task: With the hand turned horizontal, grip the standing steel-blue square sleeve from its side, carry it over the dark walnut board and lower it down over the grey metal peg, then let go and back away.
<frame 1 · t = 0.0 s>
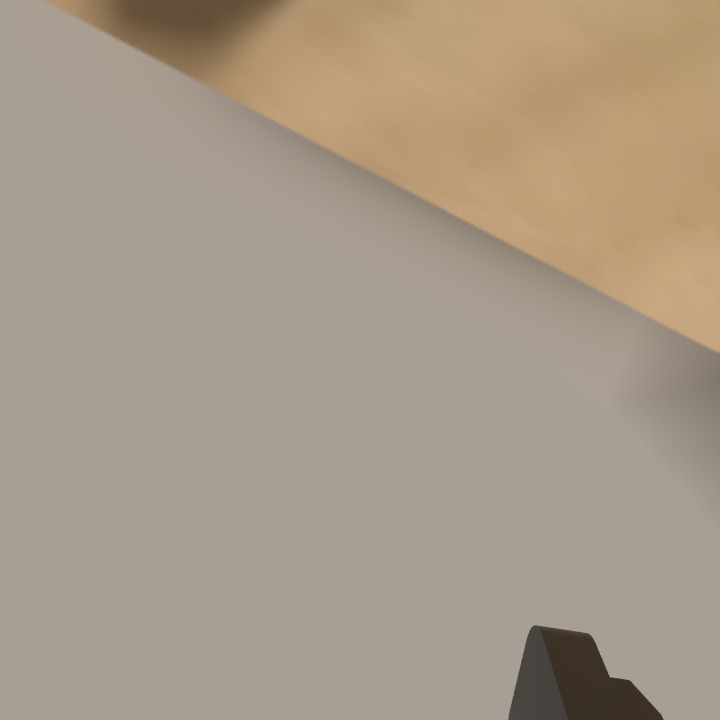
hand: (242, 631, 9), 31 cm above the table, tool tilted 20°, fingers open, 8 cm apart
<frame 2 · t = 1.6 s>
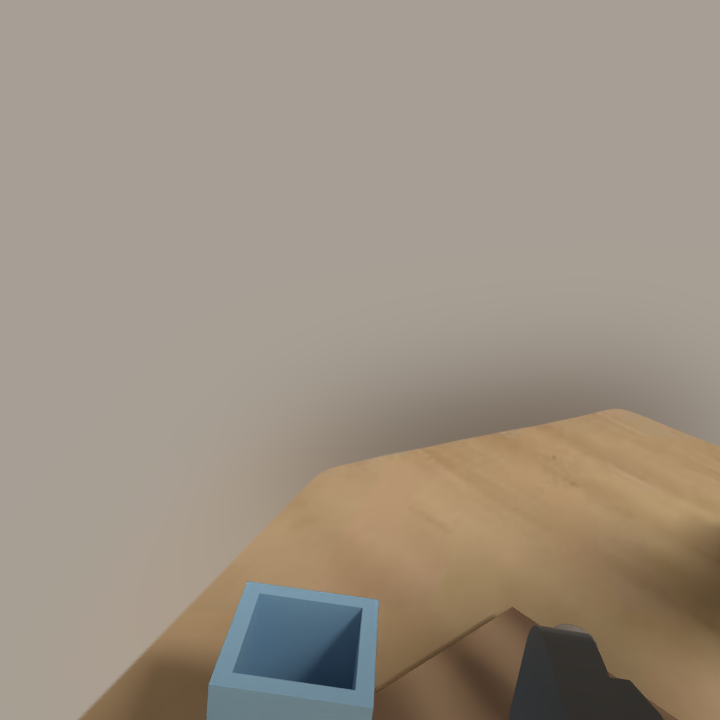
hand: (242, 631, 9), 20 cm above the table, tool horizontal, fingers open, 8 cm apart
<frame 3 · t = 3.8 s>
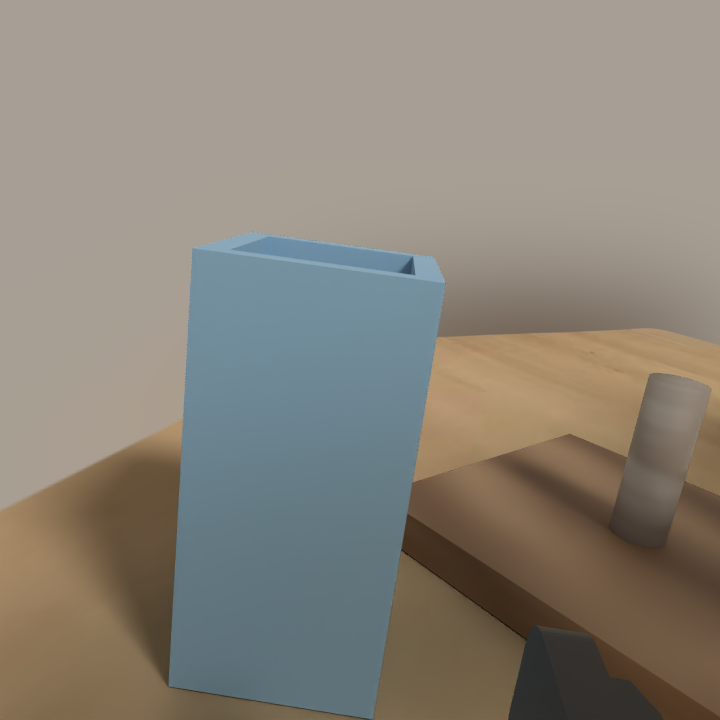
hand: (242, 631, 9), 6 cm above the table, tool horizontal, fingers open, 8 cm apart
sleeve: (288, 631, 18), on the table
peg board: (627, 567, 24), on the table
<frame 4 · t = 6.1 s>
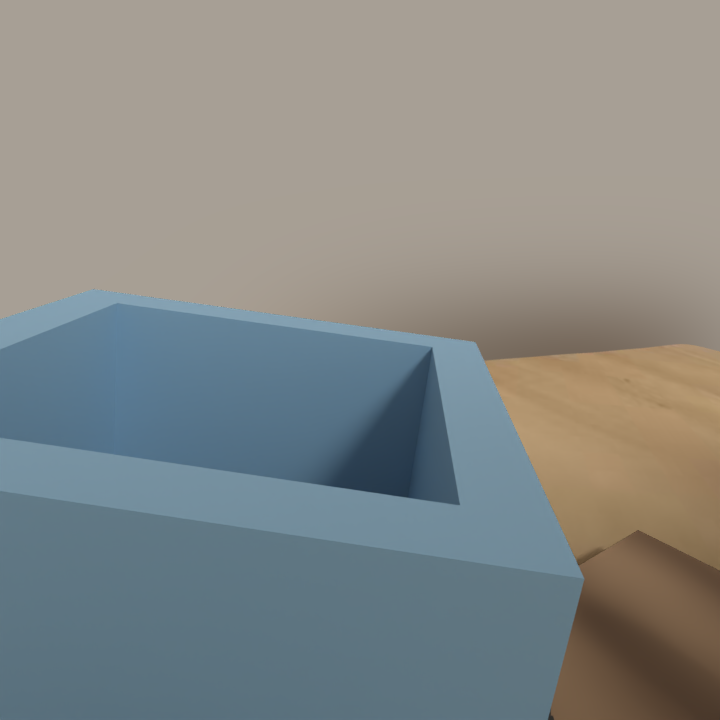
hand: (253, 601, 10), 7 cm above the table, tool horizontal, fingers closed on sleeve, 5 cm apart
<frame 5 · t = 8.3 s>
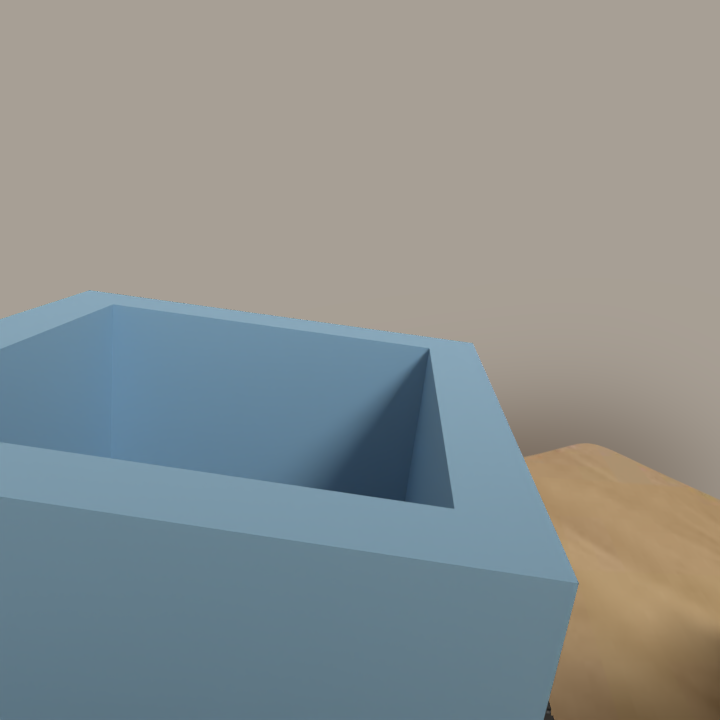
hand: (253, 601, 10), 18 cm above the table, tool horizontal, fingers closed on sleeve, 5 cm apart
when the fingers open (9 cm above the table, at t = 11.2 s): sleeve stays where it is, resting on peg board.
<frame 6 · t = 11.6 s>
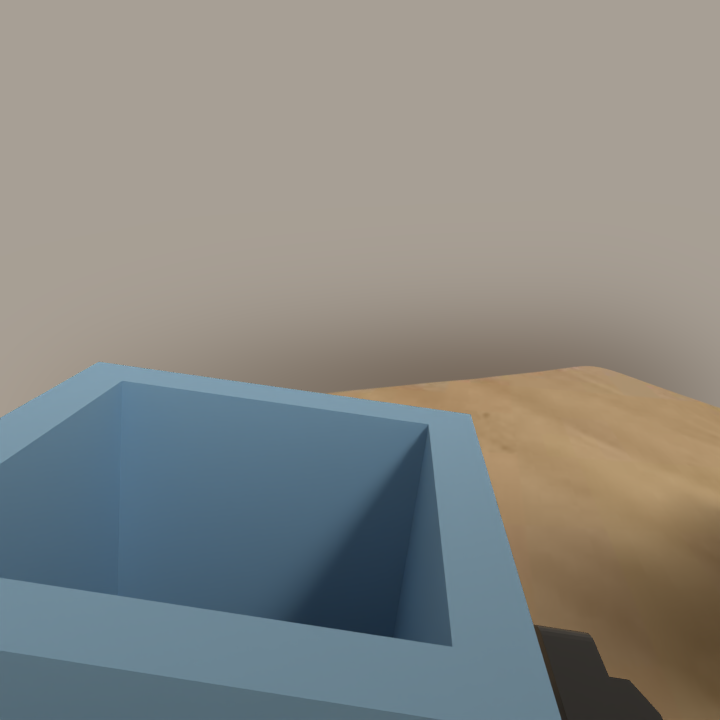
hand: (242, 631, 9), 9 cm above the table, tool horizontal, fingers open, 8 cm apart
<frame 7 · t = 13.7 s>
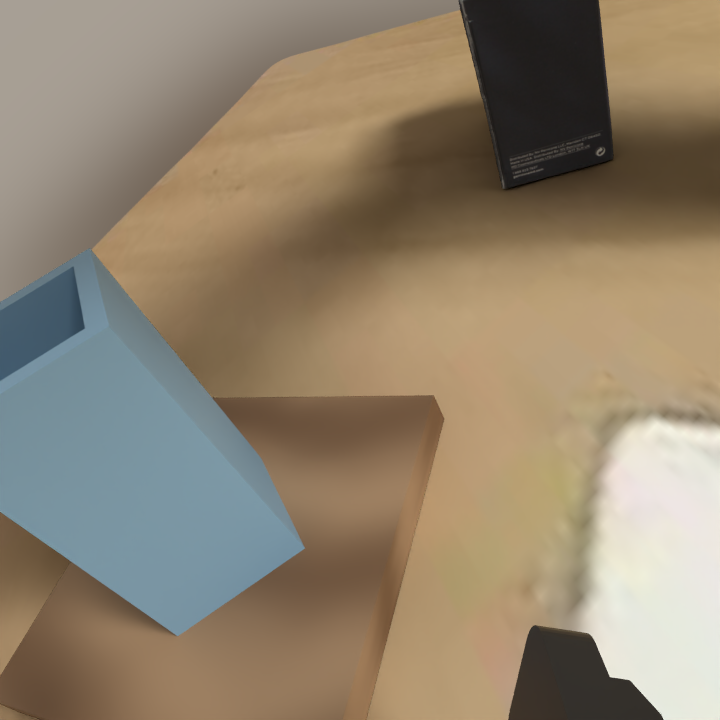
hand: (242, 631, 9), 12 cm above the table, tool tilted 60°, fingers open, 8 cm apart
sleeve: (223, 538, 23), point 1 cm above the table, touching peg board
peg board: (239, 558, 24), on the table
small box: (550, 137, 38), on the table
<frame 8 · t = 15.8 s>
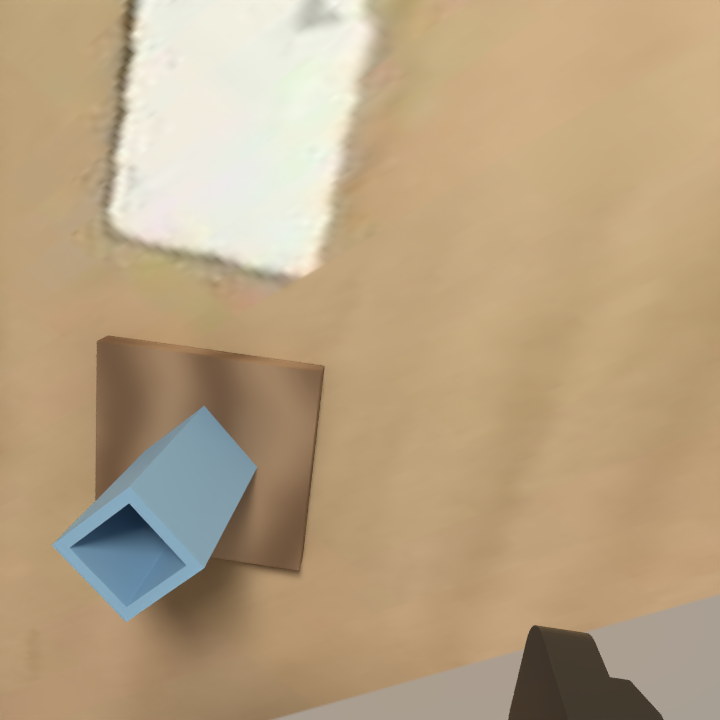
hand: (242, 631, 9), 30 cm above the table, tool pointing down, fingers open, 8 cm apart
sleeve: (200, 459, 40), point 1 cm above the table, touching peg board
peg board: (209, 451, 41), on the table
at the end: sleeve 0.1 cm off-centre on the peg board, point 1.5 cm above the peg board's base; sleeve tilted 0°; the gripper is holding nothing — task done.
